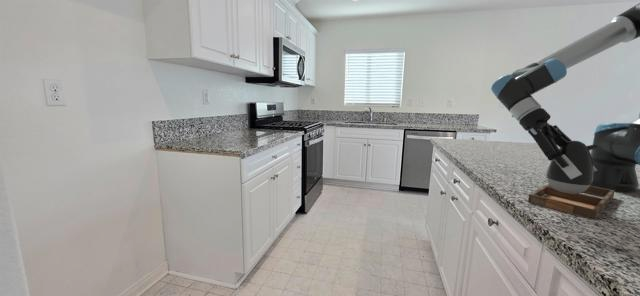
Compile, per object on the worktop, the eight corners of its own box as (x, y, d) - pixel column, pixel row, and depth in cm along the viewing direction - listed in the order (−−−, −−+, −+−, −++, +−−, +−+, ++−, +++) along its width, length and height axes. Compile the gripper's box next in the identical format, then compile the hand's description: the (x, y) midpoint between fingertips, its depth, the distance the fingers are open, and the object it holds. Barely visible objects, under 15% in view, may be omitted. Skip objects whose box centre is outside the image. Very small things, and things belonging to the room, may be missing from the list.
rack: (555, 185, 99) (556, 179, 98) (613, 197, 87) (614, 190, 87) (527, 202, 82) (528, 194, 82) (594, 220, 70) (596, 211, 70)
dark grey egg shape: (600, 198, 74) (613, 144, 71) (557, 195, 76) (567, 142, 73) (574, 187, 84) (584, 139, 81) (536, 184, 86) (545, 137, 83)
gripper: (536, 121, 95) (586, 176, 84) (500, 123, 85) (552, 186, 74) (557, 107, 89) (614, 164, 79) (522, 106, 79) (581, 172, 68)
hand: (584, 174), depth 76 cm, fingers closed on dark grey egg shape, 9 cm apart
